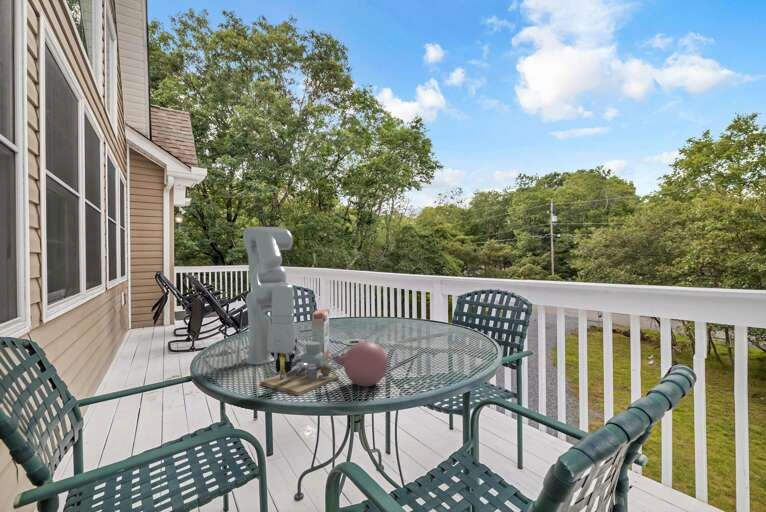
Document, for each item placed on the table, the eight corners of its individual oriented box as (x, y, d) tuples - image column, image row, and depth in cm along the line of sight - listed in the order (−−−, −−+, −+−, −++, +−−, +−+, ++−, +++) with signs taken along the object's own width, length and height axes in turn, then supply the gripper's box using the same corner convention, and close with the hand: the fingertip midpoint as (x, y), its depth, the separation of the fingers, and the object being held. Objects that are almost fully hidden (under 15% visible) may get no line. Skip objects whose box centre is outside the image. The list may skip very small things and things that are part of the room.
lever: (300, 366, 145) (299, 344, 145) (310, 367, 144) (309, 344, 144) (276, 379, 131) (275, 354, 131) (286, 380, 129) (286, 355, 129)
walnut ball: (318, 375, 138) (318, 364, 138) (325, 372, 142) (325, 362, 142) (326, 377, 136) (326, 366, 136) (333, 374, 139) (333, 363, 139)
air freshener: (318, 371, 150) (318, 346, 150) (299, 370, 151) (298, 346, 151) (327, 363, 160) (326, 340, 160) (308, 363, 162) (308, 340, 162)
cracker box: (325, 360, 165) (324, 313, 165) (311, 360, 165) (310, 313, 165) (330, 352, 179) (329, 308, 179) (317, 352, 179) (316, 309, 179)
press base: (260, 384, 135) (259, 369, 135) (300, 370, 151) (300, 356, 151) (299, 395, 124) (298, 378, 124) (338, 378, 140) (338, 364, 140)
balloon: (339, 376, 142) (338, 336, 142) (390, 378, 139) (390, 337, 139) (325, 391, 127) (324, 346, 127) (383, 394, 124) (382, 347, 124)
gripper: (256, 320, 130) (257, 373, 130) (298, 322, 125) (299, 376, 125) (269, 316, 137) (270, 366, 137) (308, 318, 132) (309, 370, 132)
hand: (283, 370), depth 131 cm, fingers closed on lever, 2 cm apart
